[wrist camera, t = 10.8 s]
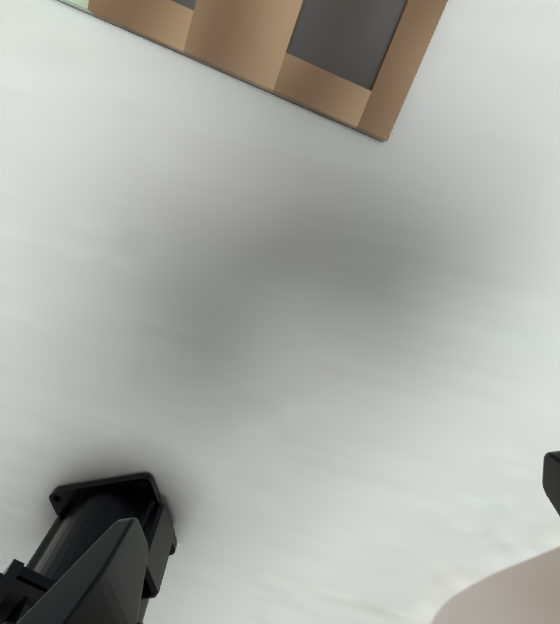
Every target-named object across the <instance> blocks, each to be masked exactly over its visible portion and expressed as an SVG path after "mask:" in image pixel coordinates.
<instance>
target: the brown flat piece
mask: <svg viewBox="0 0 560 624" xmlns="http://www.w3.org/2000/svg"><path fill="white" fill-rule="evenodd" d="M58 1H60V2H63V3H65V4H67V5H70V6H72V7H74V8H76V9H79V10H81V11H83V12H86V13H88V14H90V15H93V16H95V17H97V18H99V19H102V20H104V21H106V22H109V23H111V24H113V25H115V26H118V27H120V28H122V29H125V30H127V31H129V32H132V33H134V34H136V35H138V36H141V37H143V38H145V39H148V40H150V41H152V42H155V43H157V44H159V45H161V46H164V47H166V48H168V49H171V50H173V51H175V52H178V53H180V54H182V55H184V56H187V57H189V58H191V59H194V60H196V61H198V62H200V63H203V64H205V65H207V66H210V67H212V68H214V69H217V70H219V71H221V72H223V73H226V74H228V75H230V76H233V77H235V78H237V79H240V80H242V81H244V82H246V83H249V84H251V85H253V86H256V87H258V88H260V89H263V90H265V91H267V92H269V93H272V94H274V95H276V96H279V97H281V98H283V99H286V100H288V101H290V102H292V103H295V104H297V105H299V106H302V107H304V108H306V109H308V110H311V111H313V112H315V113H318V114H320V115H322V116H325V117H327V118H329V119H331V120H334V121H336V122H338V123H341V124H343V125H345V126H348V127H350V128H352V129H354V130H357V131H359V132H361V133H364V134H366V135H368V136H371V137H373V138H375V139H377V140H380V141H382V142H383V141H386V140H388V137H389V135H390V133H391V130H392V128H393V126H394V123H395V121H396V119H397V117H398V114H399V112H400V110H401V107H402V105H403V103H404V100H405V98H406V96H407V93H408V91H409V89H410V86H411V84H412V82H413V80H414V77H415V75H416V73H417V70H418V68H419V66H420V63H421V61H422V59H423V56H424V54H425V52H426V49H427V47H428V45H429V43H430V40H431V38H432V36H433V33H434V31H435V29H436V26H437V24H438V22H439V19H440V17H441V15H442V12H443V10H444V8H445V5H446V3H447V1H448V0H58Z"/></svg>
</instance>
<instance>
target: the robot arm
mask: <svg viewBox="0 0 560 624" xmlns="http://www.w3.org/2000/svg"><path fill="white" fill-rule="evenodd" d="M143 482H146V483H143ZM542 482H543V488H544V491H545V493H546V495H547V497H548V498H549V500H550V501H551V503H552V505H553V506H554V508H555V509H556V511H557V513H558V514H559V516H560V451H554V452H548V453H546V454H545V456H544V463H543V480H542ZM49 499H50V502H51V504H52V506H53V508H54V510H55V512H56V514H57V516H58V517H57V519H56V520H55V522H54V523H53V525H52V527H51V528H50V530H49V531H48V533H47V534H46V536H45V538H44V539H43V541H42V542H41V544H40V545H39V547H38V549H37V550H36V552H35V553H34V555H33V557H32V558H31V560H30V561H29V563H28V564H27V566H26V567H25V566H24V563H22V562H20V561H18V560H16V559H14V560H13V561H12V562H11V564H10V565H9V566H8V567H7V569H6V570H5V571H4V572H3V574H2V573H0V624H143V623H142V622H143V618H144V615H145V612H146V608H147V605H148V601H149V598H155V597H156V596H157V594H158V593H159V590H160V586H161V583H162V579H163V575H164V572H165V568H166V564H167V561H168V557H169V555H172V554H174V553H175V550H176V546H177V543H176V540H175V538H174V535H175V531H174V528H173V526H172V523H171V520H170V517H169V515H168V512H167V509H166V506H165V505H164V504H163V502H161V499H160V496H159V493H158V491H157V488H156V485H155V482H154V480H153V478H152V476H150V475H149V474H138V475H132V476H126V477H120V478H114V479H107V480H101V481H95V482H89V483H83V484H77V485H70V486H64V487H58V488H55V489H54V490H53V491H52V493H51V494H50V496H49Z"/></svg>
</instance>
